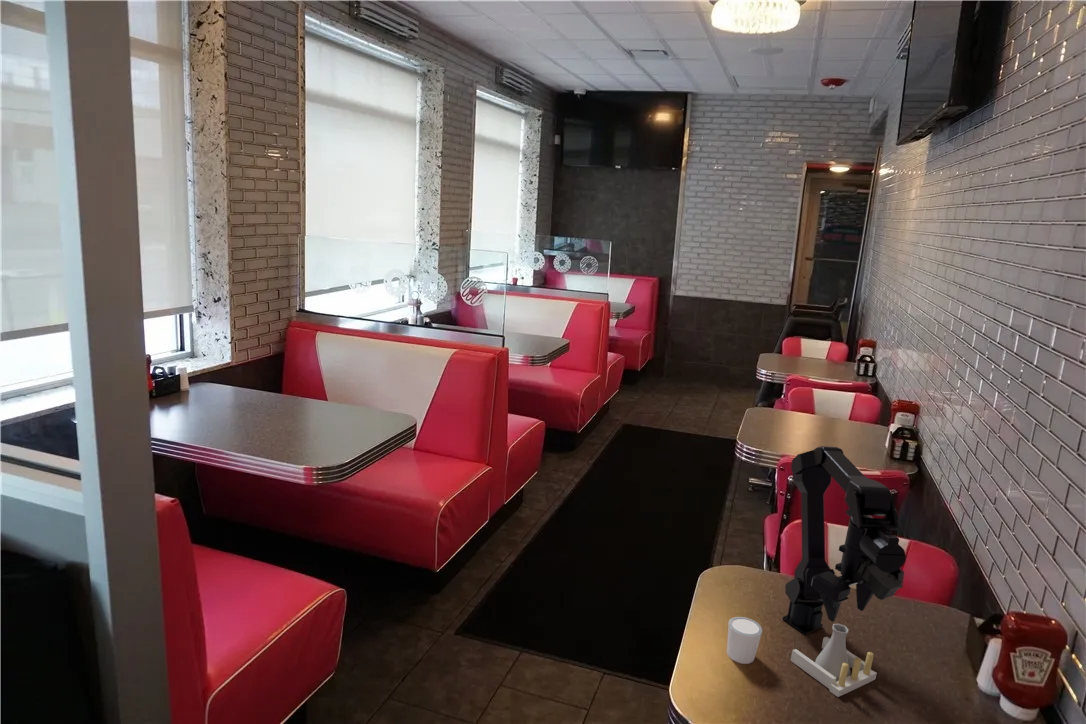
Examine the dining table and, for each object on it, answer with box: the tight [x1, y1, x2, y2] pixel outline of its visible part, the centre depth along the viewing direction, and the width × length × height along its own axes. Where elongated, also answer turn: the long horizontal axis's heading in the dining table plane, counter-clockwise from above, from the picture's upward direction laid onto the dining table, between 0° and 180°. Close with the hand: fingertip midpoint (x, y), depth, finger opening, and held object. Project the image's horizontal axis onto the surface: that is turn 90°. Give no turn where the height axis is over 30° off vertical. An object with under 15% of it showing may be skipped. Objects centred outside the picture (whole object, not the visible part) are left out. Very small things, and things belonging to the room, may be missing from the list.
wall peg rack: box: [790, 636, 878, 698], centre depth 149 cm, size 12×12×6 cm
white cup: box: [726, 616, 763, 665], centre depth 152 cm, size 7×7×7 cm
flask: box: [814, 623, 851, 682], centre depth 149 cm, size 7×7×10 cm
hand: (846, 615), depth 147 cm, fingers open, 9 cm apart
